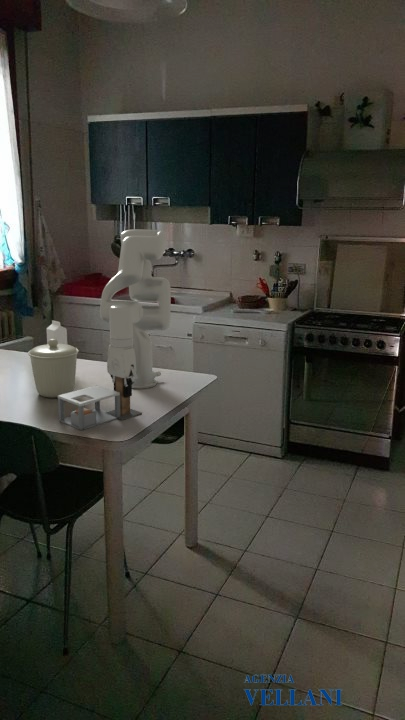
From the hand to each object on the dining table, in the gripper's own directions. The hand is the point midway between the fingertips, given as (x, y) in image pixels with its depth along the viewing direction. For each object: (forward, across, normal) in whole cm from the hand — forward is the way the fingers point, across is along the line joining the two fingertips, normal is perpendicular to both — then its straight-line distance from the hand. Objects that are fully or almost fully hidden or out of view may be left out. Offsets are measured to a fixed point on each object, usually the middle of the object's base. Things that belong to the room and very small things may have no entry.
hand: (122, 394), depth 197 cm
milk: (+7, -59, +15) cm, 61 cm away
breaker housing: (+7, -4, -11) cm, 14 cm away
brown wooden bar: (+7, 0, 0) cm, 7 cm away
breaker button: (+6, -2, -15) cm, 16 cm away
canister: (+7, -35, -3) cm, 36 cm away
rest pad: (+7, 0, 0) cm, 7 cm away
